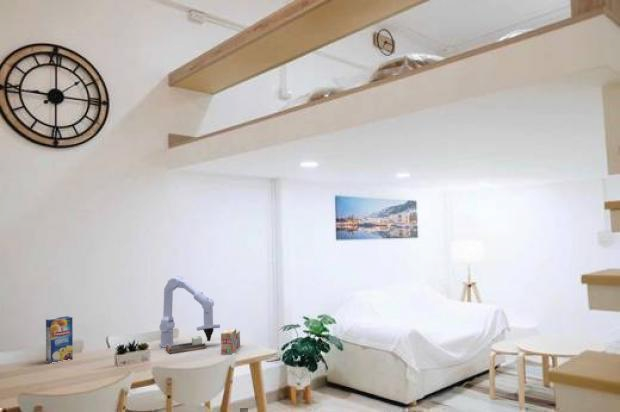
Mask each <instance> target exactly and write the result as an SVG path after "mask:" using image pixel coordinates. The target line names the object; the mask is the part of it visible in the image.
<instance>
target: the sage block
mask: <svg viewBox="0 0 620 412" xmlns="http://www.w3.org/2000/svg"><path fill="white" fill-rule="evenodd" d="M191 343H192V345H196V344H203V337H202V336H194V337H193V336H192V337H191Z"/></svg>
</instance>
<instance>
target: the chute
mask: <svg viewBox="0 0 620 412" xmlns="http://www.w3.org/2000/svg"><path fill="white" fill-rule="evenodd" d="M164 348H165V351H166V353H168V354H169V355H174V354H180V353H186V352H188V353H189V352H193V351H194V352H195V351H200V350H201V351H202V350H207V346H206V342H205V343H203V342H202V344H196V345H192V342H187V343H180V344H175V345H172V346H170V345H169V344H166V347H164Z"/></svg>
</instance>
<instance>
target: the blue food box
mask: <svg viewBox="0 0 620 412" xmlns="http://www.w3.org/2000/svg"><path fill="white" fill-rule="evenodd" d="M73 332H74V331H73V317H72V316H68V315H66V316H61V317H60V316H59V317H51V318H45V362H46V361H48V362H50V363H52V362H57V363H59V362H58V361H62V362H64V361H63V360H67V361H69V360H68V359H72V360H74V359H73V357H74V356H73V355H74V354H73V351H74V349H73V348H74V347H73V345H74V344H73V340H74V339H73V337H74V336H73V334H74V333H73ZM48 362H47V363H48ZM50 363H49V364H50Z"/></svg>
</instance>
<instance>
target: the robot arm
mask: <svg viewBox="0 0 620 412" xmlns="http://www.w3.org/2000/svg"><path fill="white" fill-rule="evenodd" d="M177 288H178V289H184V290H185V291H187V292H188V293H189V294H191V295H193V299H194V300H195V301H196V302H197V303H198V304H200V305H201V307H202V310H203V325H202V326H198V327H196V331H197V332H198V331H199V332H200V331H203V332H204V334H205V337H206V341H207V342H211V340H212V339H211V338H212V335H213V333H214V330H215V329H220V328H221V325H220V324H214V309H213V307H214V305H215V302H214V300H213V299H212V298H210V297H208V296H206V295H205V294H204V292H203V291H198V290H196V289H195V288H194V287H193V286H192V285H191V283H189V282H188V281H187V279H185V278H184V277H182V276H176V277H171V278H169V280H167V283H166V285H165V286H164V289H163V290H164V291H163V313H162V314H163V315H162V318H161V320H160V325H159V331H161V333H160V343H159V344H158V345H159V346H160V347H161V348H166V344H169V345H170V346H172V345H176V344H175V343H174V328H175V323H176V322H175V321H174V319H175V318H174V317H173V300H174V298H173V296H174V291H175V290H176V289H177Z"/></svg>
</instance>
